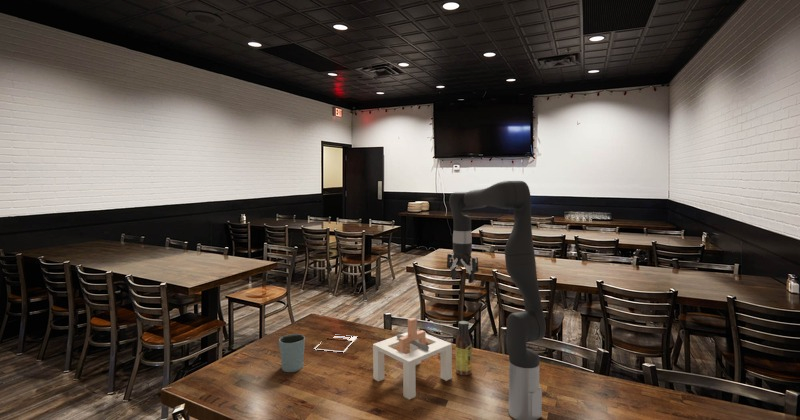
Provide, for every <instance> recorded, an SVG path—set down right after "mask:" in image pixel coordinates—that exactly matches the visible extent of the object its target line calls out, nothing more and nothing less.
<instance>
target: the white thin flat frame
mask: <svg viewBox="0 0 800 420" xmlns="http://www.w3.org/2000/svg"><path fill="white" fill-rule="evenodd" d="M350 336H351V338H350V337H345V336H334V337H333V338H343V339H347V340H348V341H347V342H350V341H352V342H350V343H349V344H348V345H347V346H346V348H345V349H344V350H332V349H323V348H319V347H320V346H321V345H322V344H321V342H319V343H320V344H321V345H320V344H319V343H318V344H317V345H316V346H314V348H313V349H315V350H314V351H317V350H324V351H323V352H327V351H333V352H332V353H337V352H343V353H342V354H345V353H346V352H347V351H348V349H349V348H350V347H351V346H352V345H353V344H352V343H353V342H354V343H355V342H356V341H357V340H358V338H359V336H357V335H356V336H355V335H350ZM352 336H353V337H352ZM357 337H358V338H357ZM349 338H350V339H349ZM351 344H352V345H351ZM319 345H320V346H319ZM350 345H351V346H350ZM318 346H319V347H318ZM349 346H350V347H349ZM317 347H318V348H317ZM348 347H349V348H348ZM316 348H317V349H316ZM344 352H345V353H344Z"/></svg>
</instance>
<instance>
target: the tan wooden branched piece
mask: <svg viewBox="0 0 800 420" xmlns="http://www.w3.org/2000/svg"><path fill="white" fill-rule="evenodd" d="M417 330H418V318H416V317H411V318H408V319H407V332H408V335H406V336H403V337H401V338H399V346H398V351H399V352H402V353H404V354H408V353H407V349H408V348H407V344H410V343H409V342H412V341H415V340H417V339H418V342H420V343H422V344H424V345H427V343H426V334H427V333H426V330H423V329H420V330H418V331H417ZM418 349H420V347H418ZM428 361H430V357H429V358H426V359H424V360H421V361H420V362H422V363H425V362H428ZM394 367H396V368H399V369H400V370H402V371H403V363H402V362H400V361H398V362H396V363H395V366H394Z"/></svg>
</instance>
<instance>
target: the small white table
mask: <svg viewBox="0 0 800 420" xmlns="http://www.w3.org/2000/svg"><path fill="white" fill-rule="evenodd" d="M417 331H419V330H418V329H417ZM406 335H408V331H405V332H404V333H401V334H400V333H397V334H396V335H395V336H392V337H390V338H386V339H384V340H380V341H378V342H375V343H373V344H372V359H373V360H372V364H373V365H372V366H373V367H372V368H373V369H372V372H373V379H374V380H375V381H377V382H378V383H379V382H381V381H383V380H385V379H386V378H385V376H386V375H385V355H386V356H388V357H390V358H392V359H394V360H396V361H398V362H399V361H400V362H402V363H403V370H402V379H403V381H402V382H403V384H402V385H403V386H402V387H403V388H402V389H403V391H402V393H403V397H404V398H405V399H407V400H412V399H414V398H416V397H417V396H416V382H417V381H416V366H418V365H420V364H421V362H422V361H421V360H424V359H426V358H429V359H430V357H433V356H435V355H438V354H439V355H440V360H439V361H440V379H441V380H444V381H445V382H447V381H449V380H451V379H452V378H453V372H452V371H453V370H452V369H453V363H452V362H453V359H452V358H453V357H452V356H453V352H452V351H453V350H452V347H453V344H452V343H451V342H449V341H446V340H443V339H440V338H439V337H435V336H433V335H430V334H428V333H426V342H427V343H428V345H427V344H426V345H424V344H422V343H420V342H418V339H417V340H415V341H412V342H409V343H408V344H409V352H408V353H407V354H404V353H402V352H399V350H397V349H395V348H396V347H399V338H401V337H403V336H406ZM418 347H420V349H418Z"/></svg>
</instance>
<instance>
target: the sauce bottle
mask: <svg viewBox="0 0 800 420" xmlns="http://www.w3.org/2000/svg"><path fill="white" fill-rule="evenodd" d="M469 323H470V322H469V321H468V320H467V321H466V320H461V321H458V322H457V324H458V334H457V336H456V337H455V372H456V374H458V375H460V376H469V375H471V373H472V368H473V363H472V362H473V360H472V358H473V357H472V356H473V352H472V351H473V350H472V349H473V348H472V347H473V343H472V340H471V337H470V333H469V326H470V324H469Z"/></svg>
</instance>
